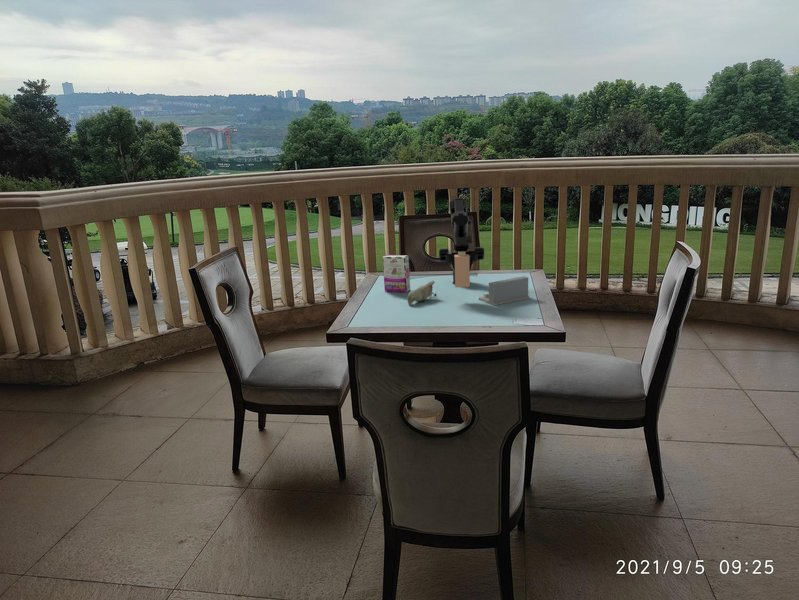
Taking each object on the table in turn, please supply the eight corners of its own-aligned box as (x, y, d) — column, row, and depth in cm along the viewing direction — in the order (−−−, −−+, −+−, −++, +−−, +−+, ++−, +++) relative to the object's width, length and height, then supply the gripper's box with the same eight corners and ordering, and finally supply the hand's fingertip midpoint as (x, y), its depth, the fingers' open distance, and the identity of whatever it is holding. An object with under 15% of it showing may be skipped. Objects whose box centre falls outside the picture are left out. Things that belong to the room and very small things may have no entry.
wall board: (478, 299, 230) (478, 279, 228) (512, 292, 238) (512, 272, 235) (494, 305, 221) (494, 284, 218) (529, 298, 228) (529, 277, 226)
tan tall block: (455, 284, 229) (454, 250, 225) (469, 284, 229) (468, 250, 225) (455, 287, 226) (454, 253, 221) (469, 287, 225) (469, 252, 221)
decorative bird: (404, 304, 229) (403, 287, 227) (429, 296, 240) (429, 279, 237) (413, 307, 225) (412, 289, 223) (439, 298, 236) (438, 281, 234)
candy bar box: (410, 289, 250) (409, 255, 245) (406, 292, 246) (405, 257, 241) (388, 288, 254) (386, 254, 249) (384, 291, 250) (382, 256, 245)
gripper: (438, 229, 225) (439, 261, 218) (483, 228, 223) (485, 260, 216) (439, 244, 235) (439, 275, 227) (482, 243, 233) (484, 274, 226)
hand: (462, 271), depth 224 cm, fingers closed on tan tall block, 6 cm apart
